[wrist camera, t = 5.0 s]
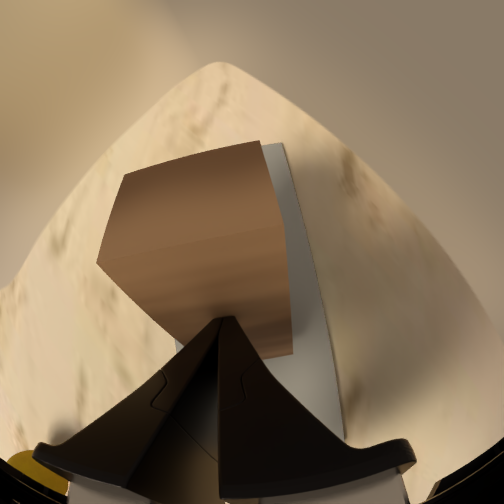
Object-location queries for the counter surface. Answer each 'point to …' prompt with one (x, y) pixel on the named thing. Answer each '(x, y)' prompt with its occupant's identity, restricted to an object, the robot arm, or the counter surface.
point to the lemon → (38, 471)
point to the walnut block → (204, 246)
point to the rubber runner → (302, 310)
